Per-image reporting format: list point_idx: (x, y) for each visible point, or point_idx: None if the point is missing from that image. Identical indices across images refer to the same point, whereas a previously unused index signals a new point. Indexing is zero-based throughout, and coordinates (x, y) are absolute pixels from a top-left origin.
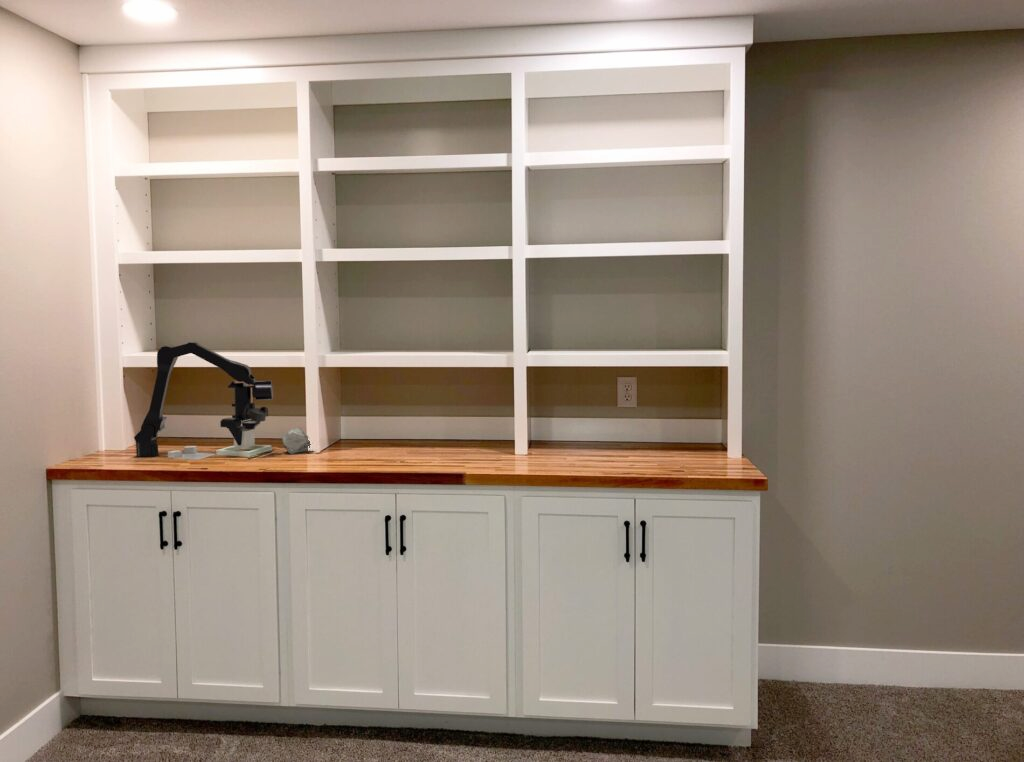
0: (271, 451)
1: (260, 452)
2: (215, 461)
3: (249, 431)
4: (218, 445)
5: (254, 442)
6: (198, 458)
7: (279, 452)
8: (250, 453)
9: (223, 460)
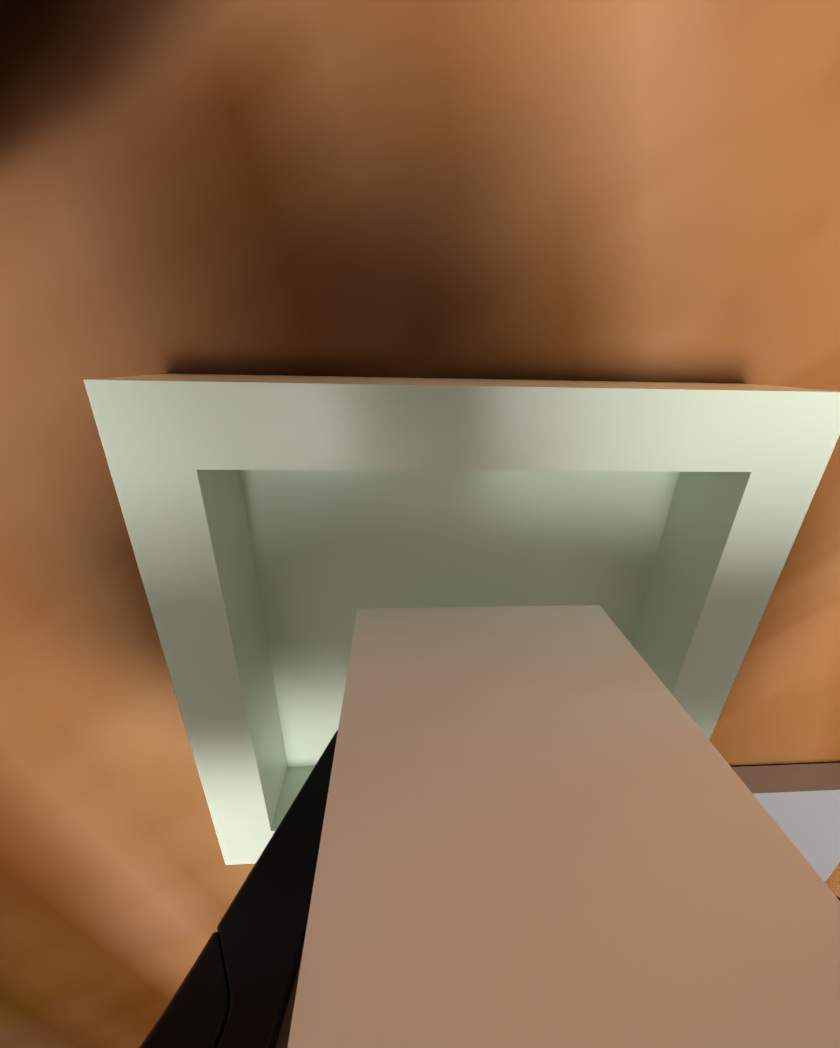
0: (175, 374)
1: (496, 382)
2: (827, 673)
3: (661, 1043)
4: (151, 984)
5: (354, 650)
6: (836, 806)
7: (85, 246)
8: (802, 390)
9: (781, 638)
